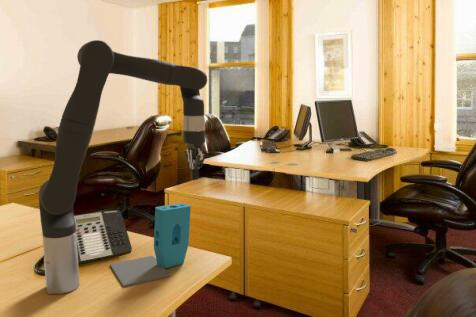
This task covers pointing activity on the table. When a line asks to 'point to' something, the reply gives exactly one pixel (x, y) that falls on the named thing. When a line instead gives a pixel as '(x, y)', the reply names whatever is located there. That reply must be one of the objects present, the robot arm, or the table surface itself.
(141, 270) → the mat
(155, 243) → the block
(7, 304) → the table surface
